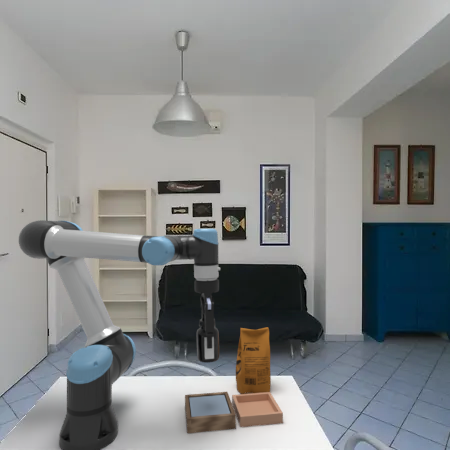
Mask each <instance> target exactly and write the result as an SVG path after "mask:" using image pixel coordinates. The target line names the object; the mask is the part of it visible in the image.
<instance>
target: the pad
mask: <svg viewBox="0 0 450 450" xmlns="http://www.w3.org/2000/svg"><path fill="white" fill-rule="evenodd" d="M189 403H190V411H191V417H196V416H207V415H218V414H229V413H230V411H229V408H228V405H227V402H226V399H225V396H224V395H216V396H203V397H191V398H189Z"/></svg>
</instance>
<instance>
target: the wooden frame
mask: <svg viewBox="0 0 450 450" xmlns="http://www.w3.org/2000/svg"><path fill="white" fill-rule="evenodd" d="M216 395H224V396H225V399H226V402H227V405H228V408H229V411H230V413H229V414H218V415H207V416H196V417H191V411H190V403H189V398H191V397H203V396H216ZM184 411H185V412H184V413H185V421H186V422H185V425H186V433H187V434H194V433H206V432H214V431H224V430H225V431H227V430H234V429H236V428H237V427H236V425H237V423H236V422H237V416H236V414H235V411H234V408H233V405H232V399H231V398H230V395H229V392H228V391H218V392H216V391H215V392H208V393H207V392H205V393H193V394H184Z"/></svg>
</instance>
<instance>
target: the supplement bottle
mask: <svg viewBox="0 0 450 450" xmlns="http://www.w3.org/2000/svg"><path fill="white" fill-rule="evenodd" d="M198 326H199V328H198V329H197V330H196V354H197V355H196V356H197V360H198V361H199V362H201V363H204V364H205V363H208V364H209V363H214V362H217V361H218V360H219V359H220V337H219V335H220V334H219V330H218V328H217V327H216V319H215V318H214V333H215V336H214V359H205V345H204V338H203V335H205V324H204V318H203V319H202V318H201V319H199V323H198ZM209 333H210V332H209Z"/></svg>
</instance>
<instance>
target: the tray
mask: <svg viewBox="0 0 450 450" xmlns="http://www.w3.org/2000/svg"><path fill="white" fill-rule="evenodd" d="M231 403H232V406H233V409H234V411H235V414H236V420H237V421H238V423H239V424H238V425H239V427H240V428H245V427H246V428H247V427H248V428H249V427H256V426H267V425H279V424H283V423H284V412H283V411H282V409H281V407H280V406H279V404H278V403H277V401H276V400H275V398H274V396H273V394H272V393H271V391H270V392H264V393H247V394H240V393H239V394H232V395H231Z"/></svg>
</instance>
